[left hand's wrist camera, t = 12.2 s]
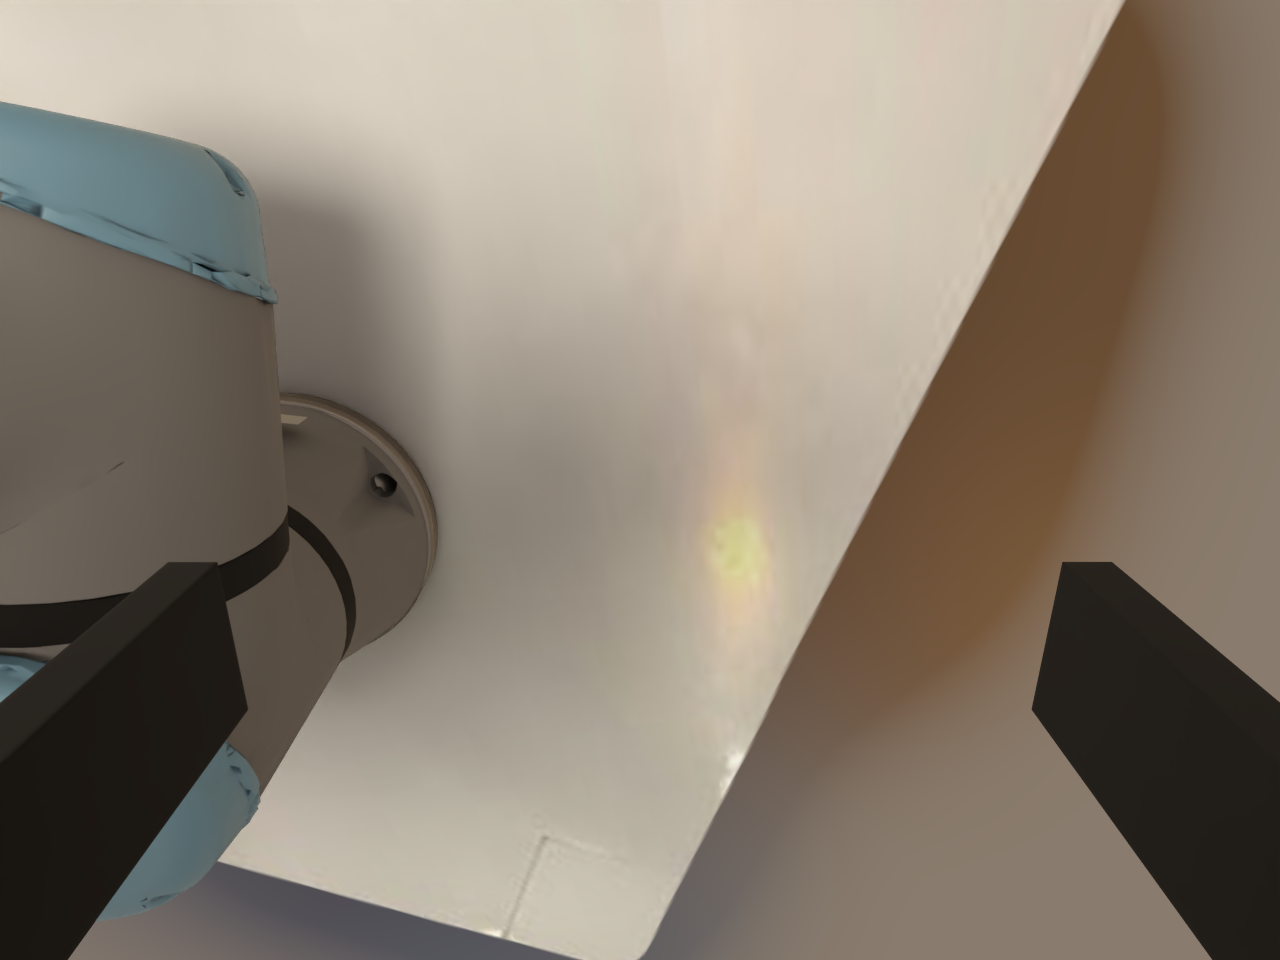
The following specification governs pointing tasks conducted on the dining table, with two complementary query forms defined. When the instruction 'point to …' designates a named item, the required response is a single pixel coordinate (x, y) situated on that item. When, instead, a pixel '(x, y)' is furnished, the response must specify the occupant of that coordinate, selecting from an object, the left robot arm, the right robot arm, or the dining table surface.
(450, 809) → the dining table surface
